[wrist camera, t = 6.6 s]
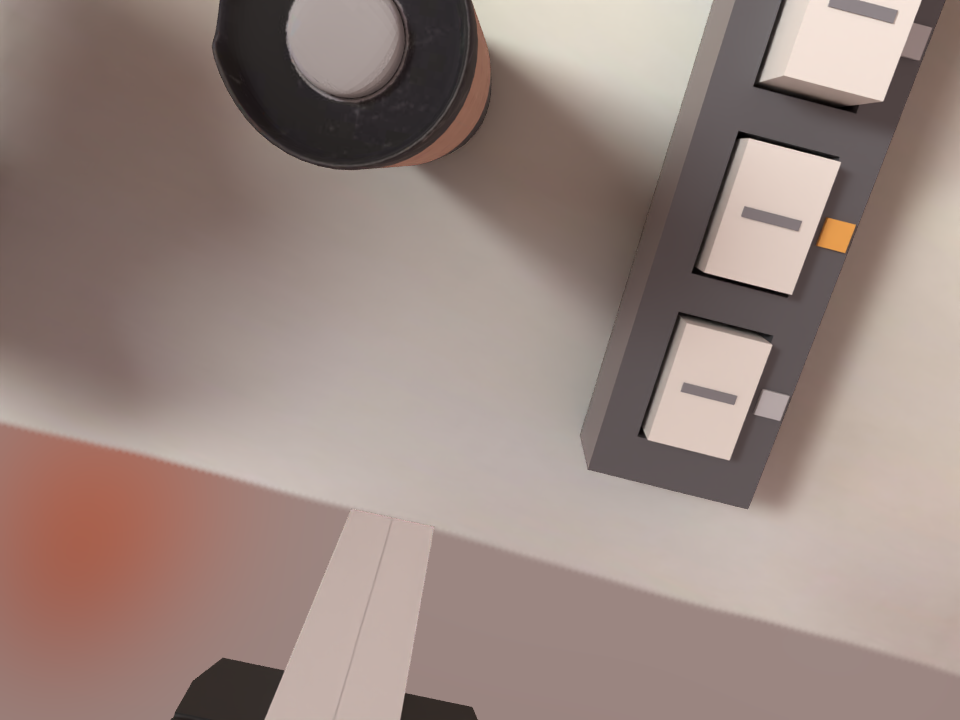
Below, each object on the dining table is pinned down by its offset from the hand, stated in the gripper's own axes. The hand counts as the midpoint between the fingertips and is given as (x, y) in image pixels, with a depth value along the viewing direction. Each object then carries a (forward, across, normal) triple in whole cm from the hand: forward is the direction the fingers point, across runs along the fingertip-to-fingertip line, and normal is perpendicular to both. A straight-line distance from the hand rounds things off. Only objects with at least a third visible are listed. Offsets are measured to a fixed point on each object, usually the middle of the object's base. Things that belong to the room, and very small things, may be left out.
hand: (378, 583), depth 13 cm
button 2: (+29, +14, +7) cm, 33 cm away
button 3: (+27, +14, +16) cm, 35 cm away
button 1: (+29, +14, -2) cm, 32 cm away
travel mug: (+31, -4, +10) cm, 33 cm away
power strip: (+30, +14, +10) cm, 35 cm away
